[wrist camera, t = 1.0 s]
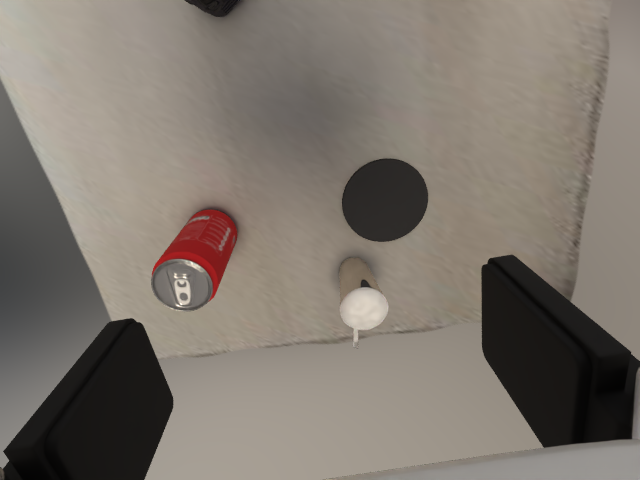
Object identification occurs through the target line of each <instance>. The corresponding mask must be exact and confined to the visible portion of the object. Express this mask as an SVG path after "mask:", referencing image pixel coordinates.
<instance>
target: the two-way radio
mask: <svg viewBox="0 0 640 480" xmlns="http://www.w3.org/2000/svg"><path fill="white" fill-rule="evenodd" d="M185 1H186V2H188V3H189V4H192V5H195V6H197V7H198V8H200V9H201V10H203V11H204V12H207V13H209V14H211V15H213V16H216V17H223V16H225V15H227V14H228V13H229V12H230V11H231V10H232V9H233V7H234V6H235V5H236V4H237V3H238V2H239V1H240V0H185Z"/></svg>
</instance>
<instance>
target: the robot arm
mask: <svg viewBox="0 0 640 480" xmlns="http://www.w3.org/2000/svg"><path fill="white" fill-rule="evenodd" d="M482 349H483V353H484V356H485V358H486V360H487V362H488V363H489V365H490V366H491V368H492V369H493V371H494V372H495V374H496V375H497V377H498V379H499V380H500V382H501V383H502V385H503V386H504V388H505V389H506V390H507V392H508V394H509V395H510V397H511V398H512V400H513V401H514V403H515V404H516V406H517V407H518V409H519V410H520V412H521V414H522V415H523V416H524V418H525V420H526V421H527V422H528V424H529V426H530V427H531V429H532V430H533V432H534V433H535V435H536V436H537V438H538V439H539V441H540V442H541V444H542V445H543V447H544V448H540V449H533V450H524V451H517V452H509V453H501V454H493V455H487V456H480V457H473V458H466V459H459V460H452V461H446V462H439V463H432V464H425V465H418V466H411V467H404V468H398V469H391V470H384V471H377V472H370V473H364V474H357V475H351V476H344V477H337V478H331V479H325V480H640V361H639V360H637V359H636V358H635V357H634V356H633V355H631V352H630V351H629V350H628V349H627V348H626V347H624V346H623V345H622V344H621V343H619V342H618V341H617V340H616V339H615V338H613V337H612V336H611V335H610V334H609V333H607V332H606V331H605V330H603V328H601V327H600V326H599V325H598V324H597V323H595V322H594V321H593V320H592V319H590V318H589V317H588V316H587V315H586V314H584V313H583V312H582V311H581V310H579V309H578V308H577V307H576V306H575V305H573V304H572V303H571V302H570V301H569V300H567V299H566V298H565V297H564V296H563V295H561V294H560V293H559V292H558V291H556V290H555V289H554V288H553V287H552V286H550V285H549V284H548V283H547V282H546V281H544V280H543V279H542V278H541V277H539V276H538V275H537V274H536V273H535V272H533V271H532V270H531V269H530V268H529V267H527V266H526V265H525V264H524V263H523V262H521V261H520V260H519V259H518V258H516V257H515V256H514V255H507V256H501V257H495V258H490V259H489V260H488V264H486V265H483V266H482ZM172 409H173V396H172V394H171V391H170V389H169V386H168V384H167V381H166V379H165V377H164V374H163V372H162V369H161V367H160V365H159V362H158V360H157V357H156V355H155V352H154V350H153V348H152V345H151V343H150V340H149V338H148V336H147V333H146V331H145V328H144V326H143V325H142V324H141V323H140V322H136V321H135V320H134V319H132V318H130V319H124V320H118V321H112V322H109V323H108V324H107V325H106V326H105V327H104V329H103V330H102V331H101V332H100V333H99V335H98V336H97V337H96V338H95V340H94V341H93V342H92V343H91V345H90V346H89V347H88V348H87V349H86V351H85V352H84V353H83V354H82V356H81V357H80V358H79V359H78V360H77V362H76V363H75V364H74V365H73V367H72V368H71V369H70V370H69V372H68V373H67V374H66V375H65V376H64V378H63V379H62V380H61V381H60V383H59V384H58V385H57V386H56V387H55V389H54V390H53V391H52V392H51V394H50V395H49V396H48V397H47V398H46V400H45V401H44V402H43V403H42V405H41V406H40V407H39V408H38V410H37V411H36V412H35V413H34V414H33V416H32V417H31V418H30V420H29V421H28V422H27V423H26V424H25V425H24V427H23V428H22V429H21V430H20V432H19V433H18V434H17V435H16V436H15V438H14V439H13V440H12V441H11V443H10V444H9V445H8V446H7V448H6V449H5V450H4V451H3V452H4V453H5V455H6V456H7V458H8V459H9V462H8V463H7V465H6V466H5V467H4V468H3V469H2V468H1V467H0V480H144V479H145V476H146V474H147V472H148V469H149V466H150V464H151V462H152V459H153V457H154V454H155V452H156V449H157V447H158V444H159V442H160V439H161V437H162V434H163V432H164V429H165V427H166V424H167V422H168V419H169V417H170V414H171V412H172Z"/></svg>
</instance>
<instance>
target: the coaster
mask: <svg viewBox="0 0 640 480" xmlns="http://www.w3.org/2000/svg"><path fill="white" fill-rule="evenodd" d="M427 203H428V192H427V187H426V184H425V181H424V179H423V178H422V176H421V175H420V173H419V172H418V171H417V170H416V169H415V168H413V167H412V166H411V165H409V164H407V163H405V162H403V161H400V160H395V159H380V160H376V161H373V162H370V163H368V164H366V165H364V166H363V167H361V168H360V169H359V170H358V171H357V172H355V173H354V175H353V176H352V177H351V178H350V180H349V181H348V183H347V185H346V187H345V190H344V193H343V199H342V207H343V212H344V216H345V219H346V221H347V223H348V224H349V226H350V227H351V228H352V229H353V230H354V231H355V232H356V233H357V234H358V235H360V236H362V237H363V238H366V239H368V240H372V241H378V242H385V241H392V240H396V239H398V238H401V237H403V236H405V235H406V234H408V233H409V232H411V231H412V230H413V229H414V228H415V227H416V226H417V225H418V224H419V222H420V221H421V219H422V218H423V216H424V213H425V211H426V208H427Z"/></svg>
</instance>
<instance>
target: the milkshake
mask: <svg viewBox="0 0 640 480" xmlns="http://www.w3.org/2000/svg"><path fill="white" fill-rule="evenodd" d="M339 277H340V314H341V317H342V319H343V321H344V322H345V323H346V324H347V325H348V326H350V327H352V328H354V341H353V347H354V348H357V349H358V329H359V330H369V329H372V328H374V327H376V326H378V325H379V324H380V323H381V322H382V321H383V320H384V318H385V317H386V315H387V313H388V302H387V300H386V298H385V296H384V295H383V293H382V291H381V290H380V288H379V286H378V284H377V283H376V281H375V279H374V277H373V275H372V273H371V271H370V269H369V267H368V265H367V263H366V262H365V261H363V260H362V259H360V258H359V257H355V258H348V259H347V260H345V261H344V262H342V265H341V267H340V270H339Z"/></svg>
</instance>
